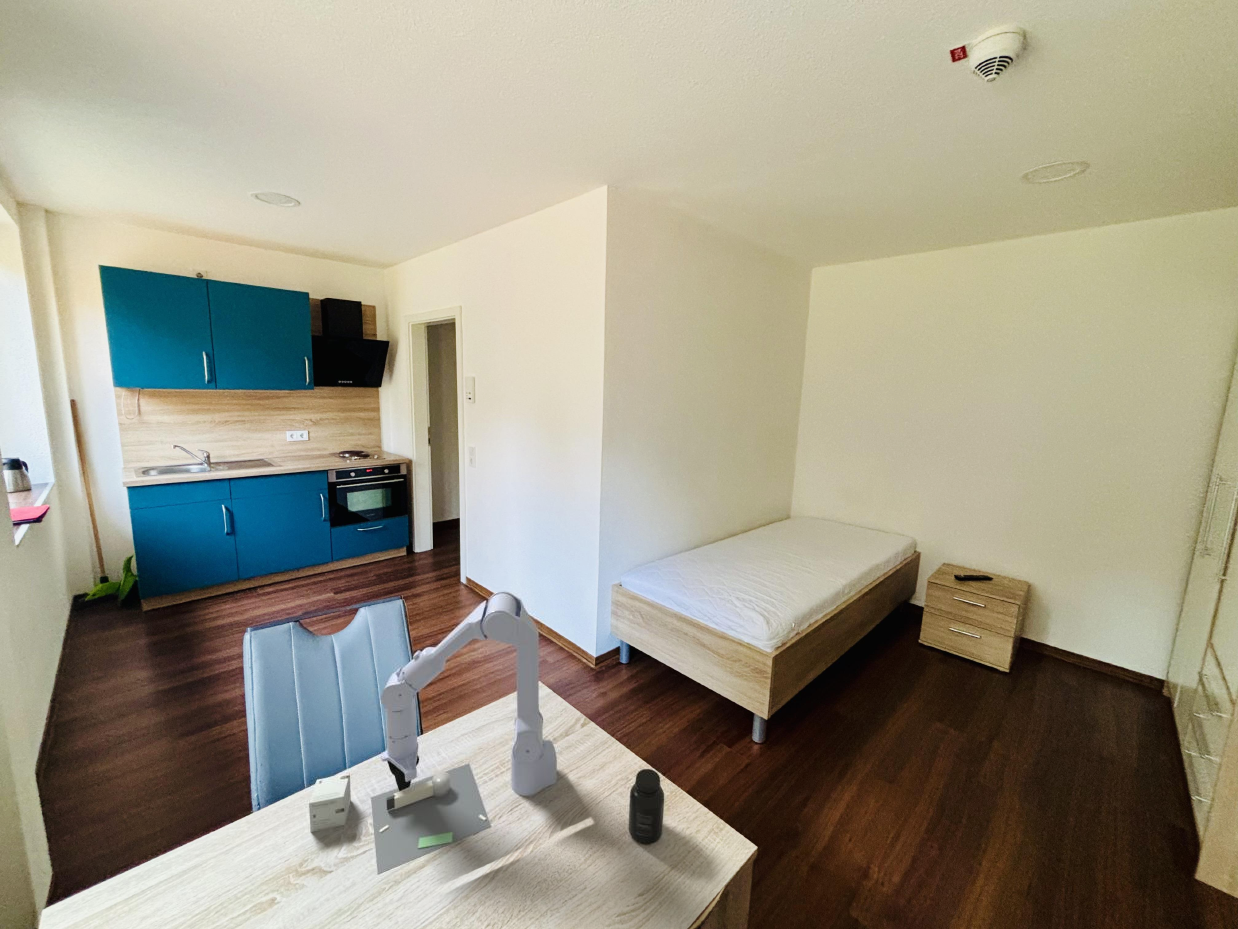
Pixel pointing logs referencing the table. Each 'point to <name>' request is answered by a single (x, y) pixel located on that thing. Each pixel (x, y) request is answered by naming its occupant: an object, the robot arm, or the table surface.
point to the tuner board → (427, 820)
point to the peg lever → (421, 791)
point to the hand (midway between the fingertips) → (403, 787)
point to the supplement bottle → (646, 808)
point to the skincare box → (330, 802)
